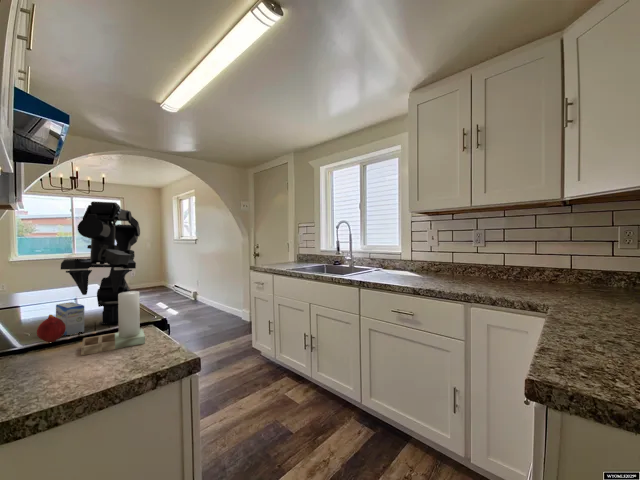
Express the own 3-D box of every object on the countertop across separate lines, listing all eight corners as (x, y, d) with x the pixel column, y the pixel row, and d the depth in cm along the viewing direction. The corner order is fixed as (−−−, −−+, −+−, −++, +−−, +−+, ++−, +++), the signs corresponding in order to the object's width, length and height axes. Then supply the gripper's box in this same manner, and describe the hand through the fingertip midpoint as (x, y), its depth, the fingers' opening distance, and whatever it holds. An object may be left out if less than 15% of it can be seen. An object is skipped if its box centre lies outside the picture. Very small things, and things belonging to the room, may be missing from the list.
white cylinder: (121, 332, 80) (121, 291, 80) (141, 330, 82) (141, 290, 81) (116, 338, 75) (115, 295, 75) (137, 336, 77) (136, 294, 77)
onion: (69, 337, 81) (69, 311, 80) (59, 345, 75) (59, 316, 75) (44, 340, 79) (44, 312, 78) (31, 348, 73) (31, 318, 73)
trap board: (81, 355, 69) (81, 347, 69) (83, 345, 75) (83, 338, 75) (145, 343, 77) (145, 336, 77) (142, 334, 84) (142, 328, 84)
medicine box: (55, 332, 85) (55, 304, 85) (73, 327, 89) (73, 301, 89) (66, 336, 82) (66, 307, 81) (84, 332, 86) (84, 304, 85)
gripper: (92, 237, 73) (89, 296, 71) (150, 243, 91) (148, 290, 90) (60, 239, 76) (57, 296, 74) (123, 244, 94) (121, 290, 92)
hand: (100, 293), depth 82 cm, fingers open, 9 cm apart
